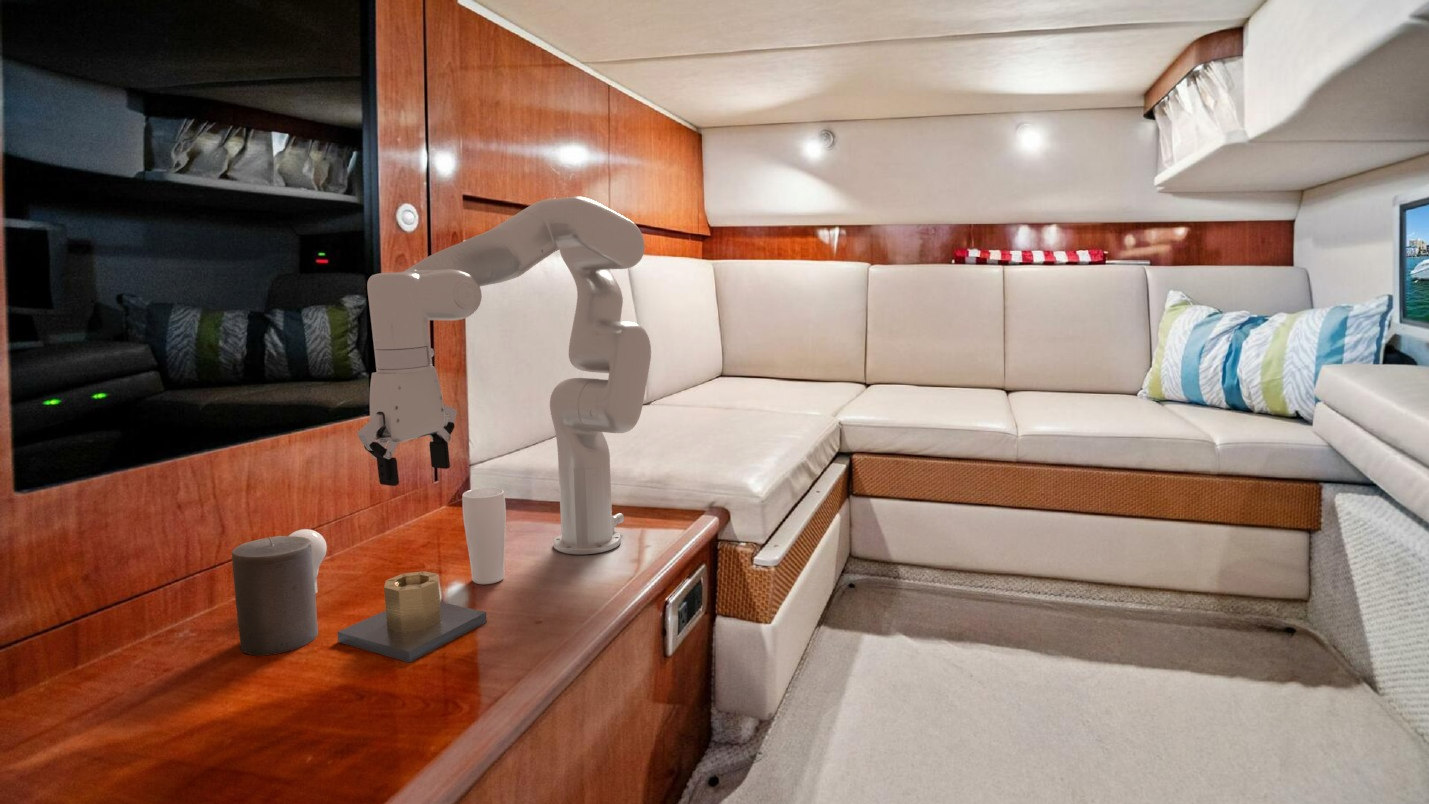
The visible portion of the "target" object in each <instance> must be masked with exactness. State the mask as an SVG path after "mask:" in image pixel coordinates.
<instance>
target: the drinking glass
mask: <svg viewBox="0 0 1429 804" xmlns="http://www.w3.org/2000/svg"><path fill="white" fill-rule="evenodd" d="M461 497H462V499H461V500H462V501H461V502H462V519H463V524H464V526H463V527H464V531H465V537H466V545H467V550H468V556H469V563H470V573H471V580H472V582H473V583H475V584H478V585H494V584H496V583H499V582H501V581H502V580H503V579H504V578H505V574H506V572H505V569H506V568H505V553H506V552H505V551H506V549H505V548H506V525H507V524H506V522H507V521H506V520H507V519H506V516H507V514H506V513H507V512H506V509H507V508H506V498H505V490H503V489H501V488H498V487H480V488H474V489H470V490H467V491H464V492H463V493H462V495H461Z"/></svg>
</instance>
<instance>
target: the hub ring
mask: <svg viewBox="0 0 1429 804" xmlns="http://www.w3.org/2000/svg"><path fill="white" fill-rule="evenodd" d="M439 578H440V577H439V573H434V572H429V571H424V570H423V571H416V572H405V573H402V574H401V573H400V574H399V575H396V576H393V577H391V578H389V579H385V583H384V587H383V592H384V603H385V611H386V618H387V629H390V630H394V631H397V632H401V633H404V632H411V631H419V630H425V629H427V628H429V627H431V626H433V625H435V624H437V623H439V622H441V605H440V602H441V593H440V579H439ZM410 584H420V585H418V586H411V587H403V586H406V585H410Z"/></svg>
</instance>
